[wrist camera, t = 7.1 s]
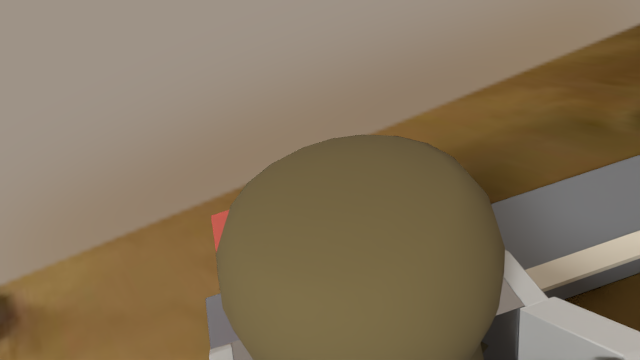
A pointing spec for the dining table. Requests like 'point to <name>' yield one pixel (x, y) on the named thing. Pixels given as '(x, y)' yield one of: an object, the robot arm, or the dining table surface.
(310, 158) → the cork
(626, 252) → the grey and white frame
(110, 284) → the dining table surface
